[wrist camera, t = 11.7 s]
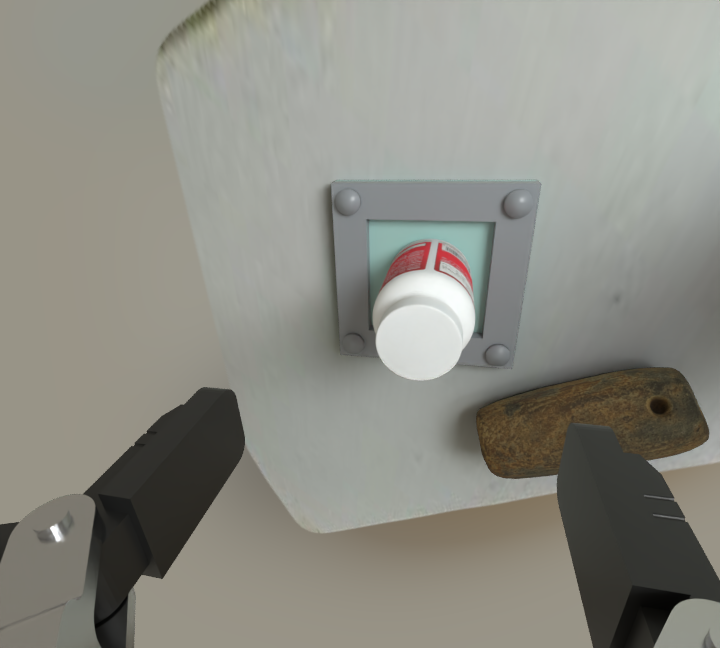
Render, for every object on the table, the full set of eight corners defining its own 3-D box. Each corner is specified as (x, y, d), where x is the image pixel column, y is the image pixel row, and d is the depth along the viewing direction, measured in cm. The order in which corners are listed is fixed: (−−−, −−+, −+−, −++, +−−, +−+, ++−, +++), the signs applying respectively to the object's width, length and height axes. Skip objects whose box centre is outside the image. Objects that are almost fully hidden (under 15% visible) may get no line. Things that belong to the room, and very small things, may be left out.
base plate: (537, 179, 28) (542, 184, 26) (510, 358, 34) (512, 371, 33) (336, 180, 31) (329, 184, 29) (344, 345, 37) (339, 356, 35)
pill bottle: (385, 305, 34) (356, 380, 24) (396, 230, 31) (367, 282, 21) (462, 318, 33) (463, 402, 23) (480, 243, 30) (490, 303, 21)
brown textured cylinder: (656, 332, 31) (701, 383, 25) (681, 404, 33) (729, 466, 27) (466, 394, 37) (468, 447, 31) (498, 452, 39) (505, 512, 33)
